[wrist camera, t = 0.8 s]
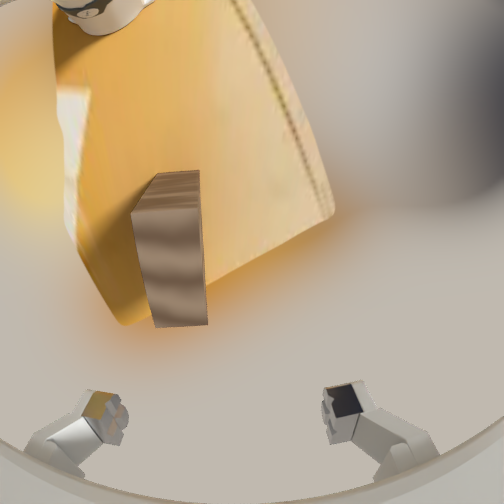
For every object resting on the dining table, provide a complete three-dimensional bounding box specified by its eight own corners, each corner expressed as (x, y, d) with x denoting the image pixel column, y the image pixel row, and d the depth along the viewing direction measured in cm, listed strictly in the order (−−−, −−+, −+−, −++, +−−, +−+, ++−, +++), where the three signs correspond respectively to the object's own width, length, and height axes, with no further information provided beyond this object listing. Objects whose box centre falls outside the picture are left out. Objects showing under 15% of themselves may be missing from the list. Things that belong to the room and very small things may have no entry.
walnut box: (157, 173, 49) (130, 213, 30) (199, 170, 50) (197, 208, 31) (167, 256, 58) (155, 327, 39) (203, 253, 59) (208, 324, 40)
